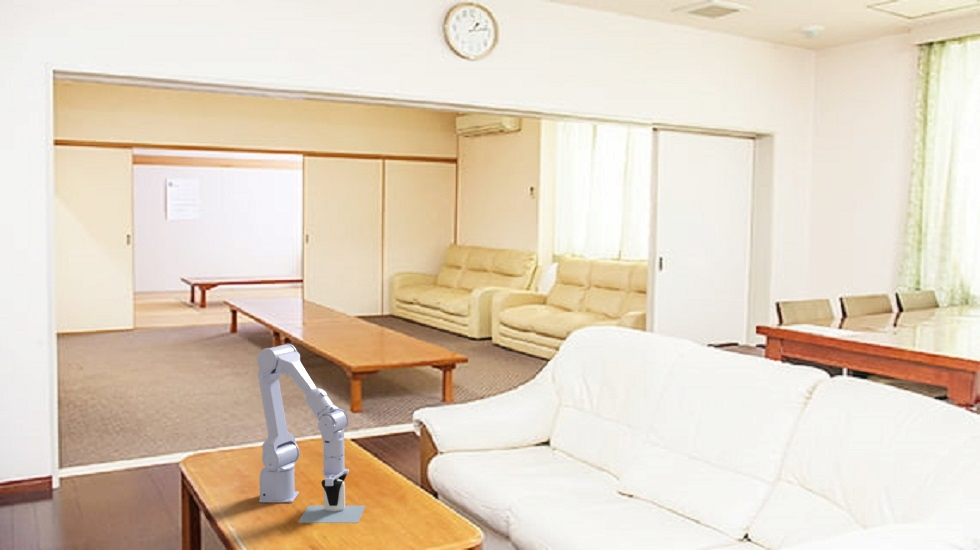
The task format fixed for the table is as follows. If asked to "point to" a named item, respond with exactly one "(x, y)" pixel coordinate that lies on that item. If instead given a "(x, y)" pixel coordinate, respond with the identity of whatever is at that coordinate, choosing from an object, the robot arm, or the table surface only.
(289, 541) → the table surface
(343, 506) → the eye dropper bottle
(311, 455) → the table surface
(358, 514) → the mat
